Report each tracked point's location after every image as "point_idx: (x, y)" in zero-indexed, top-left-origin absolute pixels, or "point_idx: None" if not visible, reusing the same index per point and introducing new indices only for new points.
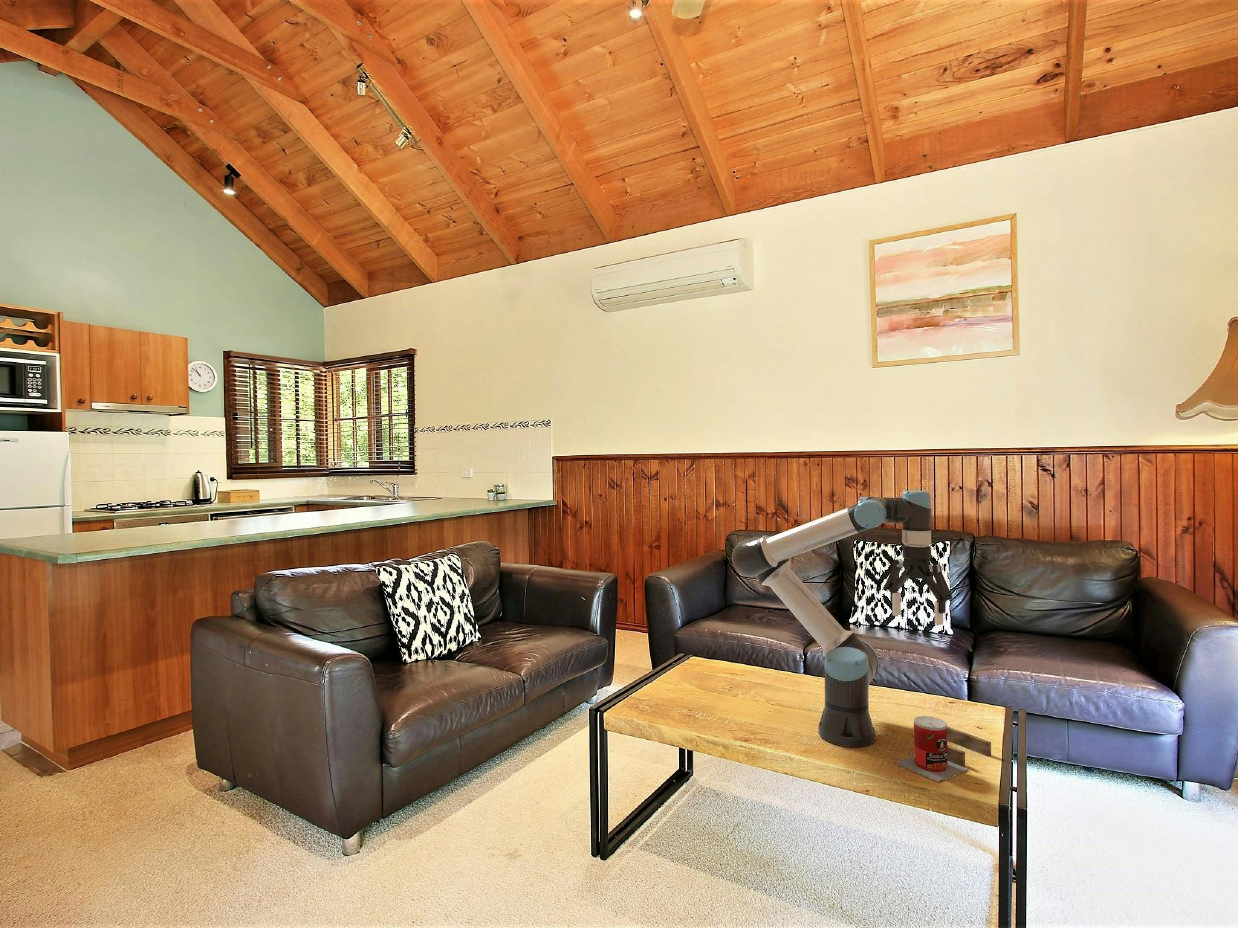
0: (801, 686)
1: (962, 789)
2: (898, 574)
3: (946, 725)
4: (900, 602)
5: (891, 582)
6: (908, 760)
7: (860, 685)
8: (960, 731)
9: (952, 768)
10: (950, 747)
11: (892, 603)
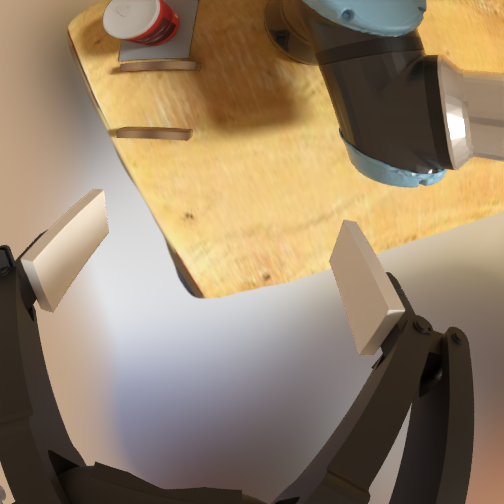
0: (457, 184)
1: (102, 13)
2: (400, 469)
3: (103, 25)
4: (344, 304)
5: (437, 386)
6: (187, 12)
7: None
8: (164, 137)
9: (132, 43)
10: (140, 64)
11: (378, 260)
